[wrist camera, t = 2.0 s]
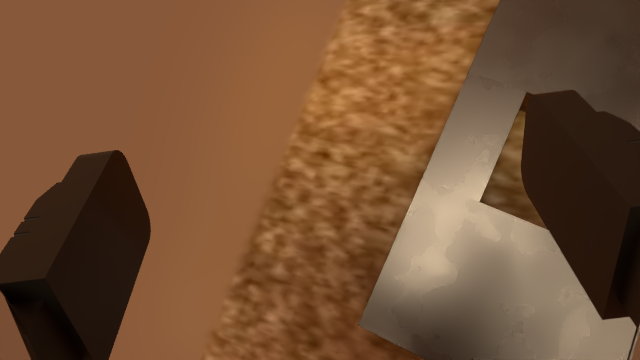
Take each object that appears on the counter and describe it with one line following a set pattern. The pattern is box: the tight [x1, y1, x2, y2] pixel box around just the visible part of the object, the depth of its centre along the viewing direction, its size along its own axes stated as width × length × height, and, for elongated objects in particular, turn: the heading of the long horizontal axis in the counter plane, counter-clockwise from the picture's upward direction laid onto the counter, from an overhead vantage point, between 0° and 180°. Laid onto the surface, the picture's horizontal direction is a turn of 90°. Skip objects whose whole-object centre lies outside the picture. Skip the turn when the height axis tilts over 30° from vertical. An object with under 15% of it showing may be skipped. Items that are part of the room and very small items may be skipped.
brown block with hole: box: [358, 0, 640, 360], centre depth 27 cm, size 22×12×3 cm, turn 156°
